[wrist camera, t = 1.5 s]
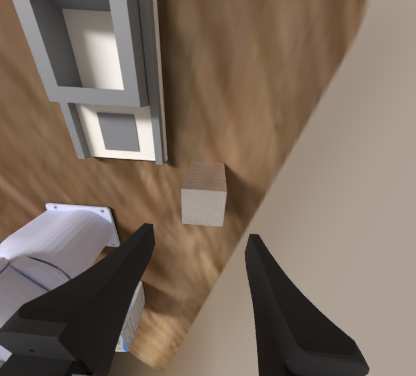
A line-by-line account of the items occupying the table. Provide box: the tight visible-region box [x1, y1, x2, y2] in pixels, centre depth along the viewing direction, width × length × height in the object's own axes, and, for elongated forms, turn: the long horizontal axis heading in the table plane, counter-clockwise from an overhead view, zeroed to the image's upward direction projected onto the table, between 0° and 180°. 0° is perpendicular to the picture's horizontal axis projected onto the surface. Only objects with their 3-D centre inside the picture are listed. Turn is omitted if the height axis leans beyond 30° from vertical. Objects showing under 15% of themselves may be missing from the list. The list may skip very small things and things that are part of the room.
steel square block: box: [181, 161, 227, 226], centre depth 19 cm, size 4×4×7 cm
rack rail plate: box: [13, 0, 168, 164], centre depth 14 cm, size 10×20×4 cm, turn 177°
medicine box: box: [115, 281, 145, 352], centre depth 32 cm, size 8×4×9 cm, turn 174°
